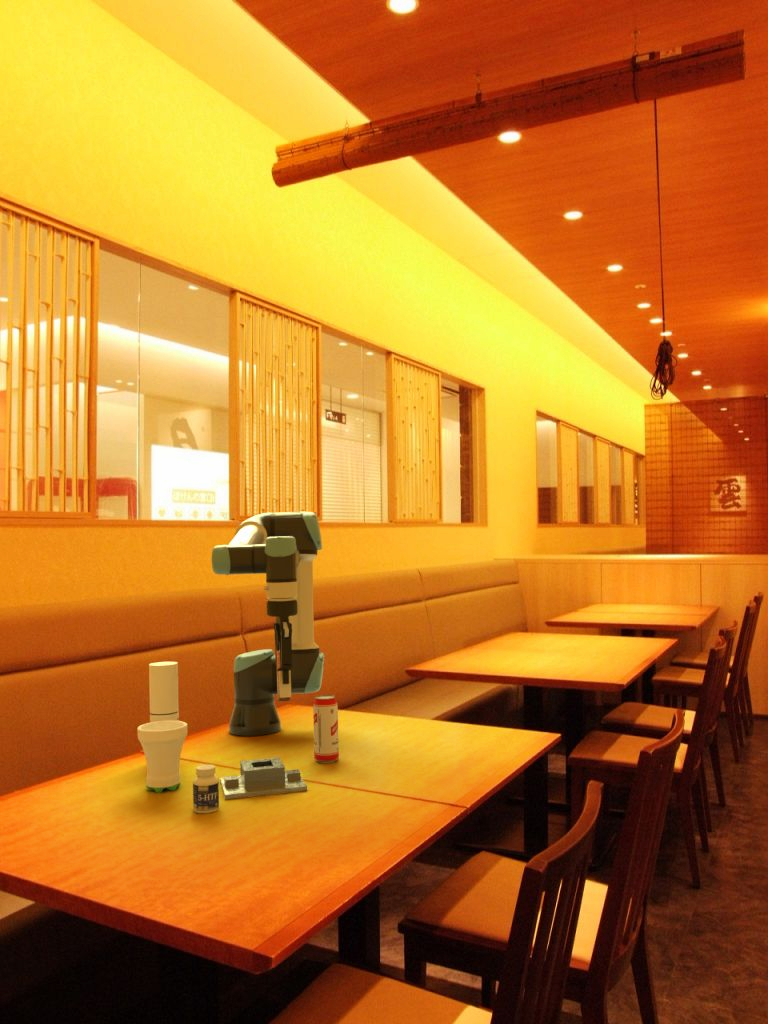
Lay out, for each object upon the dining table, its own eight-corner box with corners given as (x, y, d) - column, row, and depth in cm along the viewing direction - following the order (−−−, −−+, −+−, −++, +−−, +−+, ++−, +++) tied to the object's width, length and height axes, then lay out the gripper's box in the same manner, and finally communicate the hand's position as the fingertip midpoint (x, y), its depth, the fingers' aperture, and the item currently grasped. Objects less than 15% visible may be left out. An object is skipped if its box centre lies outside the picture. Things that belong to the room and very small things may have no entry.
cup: (166, 778, 198) (165, 718, 199) (199, 785, 192) (197, 723, 192) (127, 790, 189) (126, 727, 190) (160, 798, 183) (158, 733, 183)
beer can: (340, 757, 214) (339, 694, 214) (337, 763, 207) (335, 699, 208) (316, 757, 214) (315, 694, 215) (312, 763, 208) (310, 699, 209)
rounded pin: (276, 699, 204) (275, 650, 205) (289, 698, 205) (288, 649, 205) (278, 701, 201) (277, 651, 202) (291, 700, 202) (290, 651, 202)
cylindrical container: (144, 764, 212) (143, 665, 213) (162, 756, 219) (160, 661, 220) (168, 766, 210) (166, 666, 210) (185, 758, 216) (183, 662, 217)
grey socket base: (220, 781, 194) (219, 760, 194) (296, 774, 199) (296, 753, 199) (225, 799, 181) (224, 776, 181) (307, 790, 186) (306, 767, 186)
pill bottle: (197, 815, 170) (196, 771, 171) (190, 808, 175) (189, 766, 175) (222, 811, 173) (221, 768, 173) (215, 804, 178) (214, 762, 178)
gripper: (262, 597, 211) (264, 690, 210) (271, 602, 195) (273, 703, 194) (291, 596, 213) (294, 688, 212) (302, 601, 197) (305, 700, 196)
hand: (284, 695), depth 203 cm, fingers closed on rounded pin, 3 cm apart
